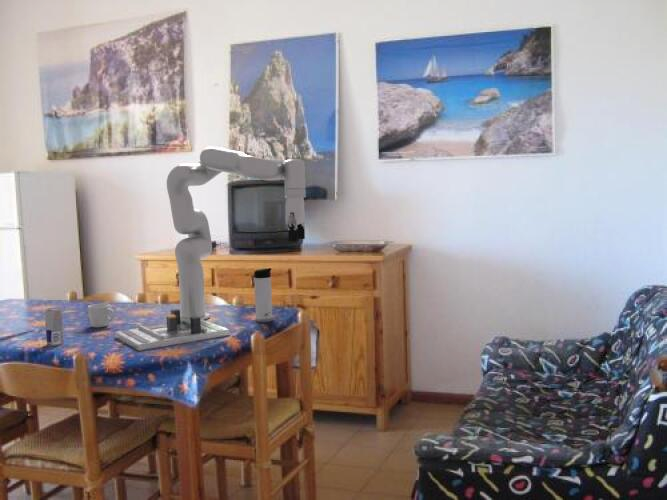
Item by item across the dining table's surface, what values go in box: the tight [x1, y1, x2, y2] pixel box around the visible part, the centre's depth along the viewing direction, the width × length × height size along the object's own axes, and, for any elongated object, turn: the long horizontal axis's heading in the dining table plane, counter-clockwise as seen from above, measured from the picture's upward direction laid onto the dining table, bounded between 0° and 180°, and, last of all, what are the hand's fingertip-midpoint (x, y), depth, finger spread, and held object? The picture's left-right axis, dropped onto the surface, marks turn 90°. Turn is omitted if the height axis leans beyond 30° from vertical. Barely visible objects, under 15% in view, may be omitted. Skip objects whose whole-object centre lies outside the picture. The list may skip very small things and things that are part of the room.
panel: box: [114, 308, 230, 351], centre depth 235 cm, size 24×32×7 cm
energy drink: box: [44, 307, 65, 347], centre depth 228 cm, size 5×5×12 cm
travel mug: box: [253, 267, 273, 323], centre depth 256 cm, size 6×7×20 cm
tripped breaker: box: [165, 314, 177, 331], centre depth 235 cm, size 3×2×5 cm
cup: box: [87, 303, 116, 328], centre depth 255 cm, size 11×8×8 cm
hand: (296, 240), depth 250 cm, fingers open, 9 cm apart
